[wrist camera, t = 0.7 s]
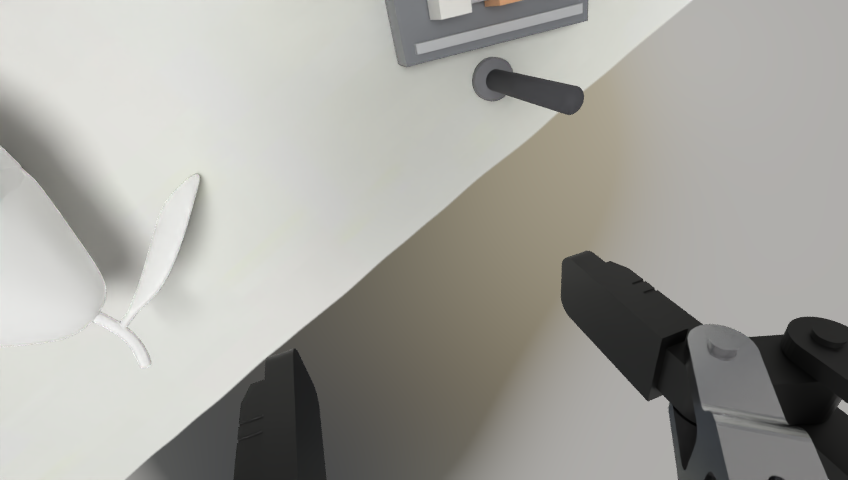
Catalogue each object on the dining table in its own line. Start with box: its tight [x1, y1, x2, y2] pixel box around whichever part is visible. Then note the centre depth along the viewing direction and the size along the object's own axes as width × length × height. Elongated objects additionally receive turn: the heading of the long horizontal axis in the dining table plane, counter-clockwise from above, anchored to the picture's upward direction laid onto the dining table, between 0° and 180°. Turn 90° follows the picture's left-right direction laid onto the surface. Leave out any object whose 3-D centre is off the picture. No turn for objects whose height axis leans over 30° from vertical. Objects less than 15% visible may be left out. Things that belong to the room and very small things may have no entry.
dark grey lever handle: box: [472, 57, 584, 115], centre depth 35 cm, size 4×4×14 cm
